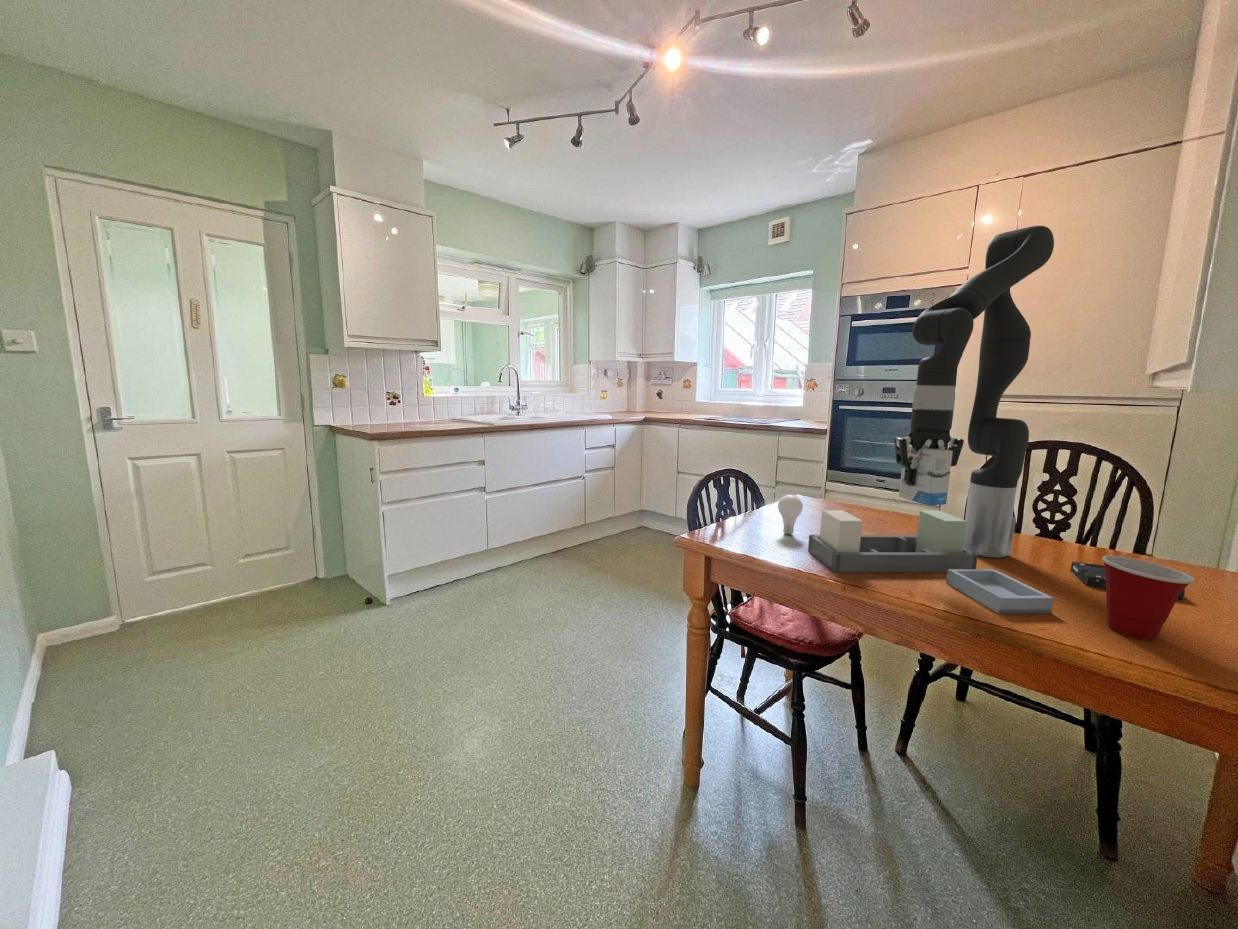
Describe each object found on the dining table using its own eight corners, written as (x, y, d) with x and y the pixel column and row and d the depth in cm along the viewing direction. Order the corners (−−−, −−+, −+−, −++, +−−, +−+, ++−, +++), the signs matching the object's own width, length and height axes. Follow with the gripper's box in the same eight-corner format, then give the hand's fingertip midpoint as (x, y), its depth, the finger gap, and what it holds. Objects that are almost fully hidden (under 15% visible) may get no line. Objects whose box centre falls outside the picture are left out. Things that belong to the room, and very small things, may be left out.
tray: (992, 582, 106) (994, 569, 105) (1051, 613, 92) (1054, 598, 91) (945, 582, 105) (947, 569, 105) (998, 613, 91) (1001, 598, 91)
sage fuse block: (934, 554, 123) (940, 510, 121) (960, 568, 114) (967, 521, 112) (914, 554, 123) (919, 510, 121) (939, 568, 114) (945, 521, 112)
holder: (933, 550, 125) (935, 535, 125) (975, 571, 112) (977, 554, 111) (807, 550, 124) (809, 534, 123) (834, 572, 110) (836, 554, 109)
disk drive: (1085, 589, 105) (1184, 603, 98) (1087, 576, 104) (1187, 590, 98) (1068, 572, 114) (1158, 584, 107) (1070, 560, 113) (1160, 572, 107)
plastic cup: (1199, 654, 79) (1216, 581, 77) (1115, 643, 82) (1129, 573, 80) (1149, 622, 89) (1162, 557, 87) (1075, 613, 92) (1087, 551, 90)
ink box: (947, 505, 106) (954, 450, 104) (927, 506, 105) (934, 450, 103) (916, 495, 115) (922, 444, 113) (897, 496, 114) (903, 445, 112)
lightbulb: (803, 538, 134) (807, 498, 132) (779, 537, 134) (782, 497, 132) (796, 531, 140) (799, 492, 138) (773, 530, 140) (775, 492, 138)
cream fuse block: (838, 554, 122) (842, 510, 120) (857, 568, 113) (862, 520, 111) (818, 554, 122) (822, 510, 120) (835, 568, 113) (840, 520, 111)
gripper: (954, 406, 110) (944, 482, 113) (889, 405, 110) (881, 481, 113) (979, 408, 103) (968, 489, 106) (909, 407, 103) (900, 488, 105)
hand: (923, 484), depth 109 cm, fingers closed on ink box, 5 cm apart
